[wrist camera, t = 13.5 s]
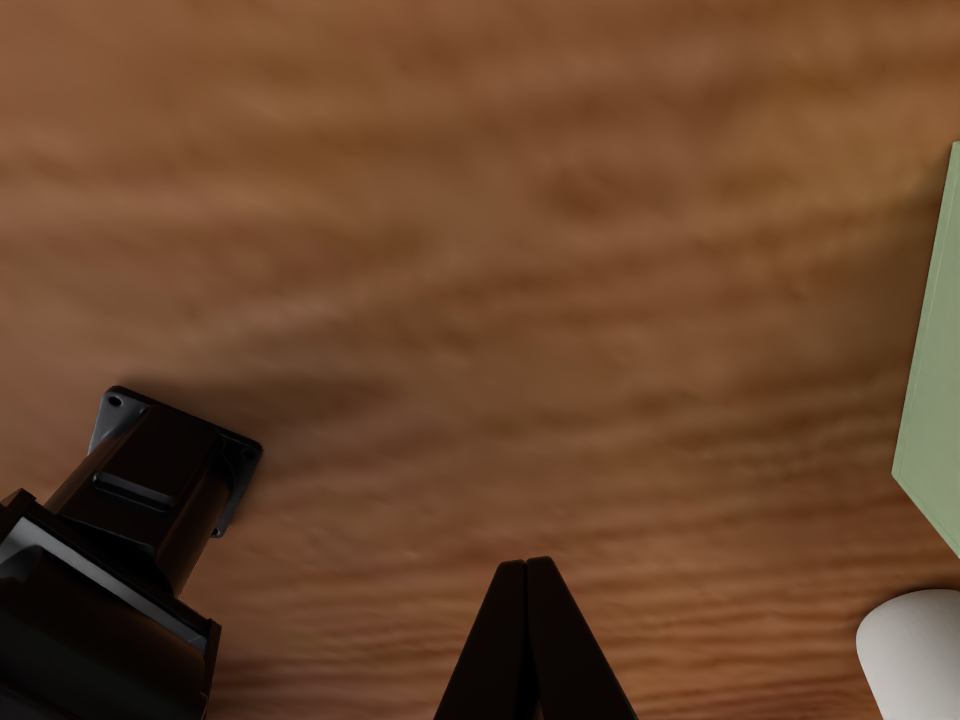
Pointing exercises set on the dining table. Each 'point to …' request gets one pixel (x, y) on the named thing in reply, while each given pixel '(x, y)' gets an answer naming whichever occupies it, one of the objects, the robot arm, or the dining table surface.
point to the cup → (914, 655)
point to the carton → (936, 381)
